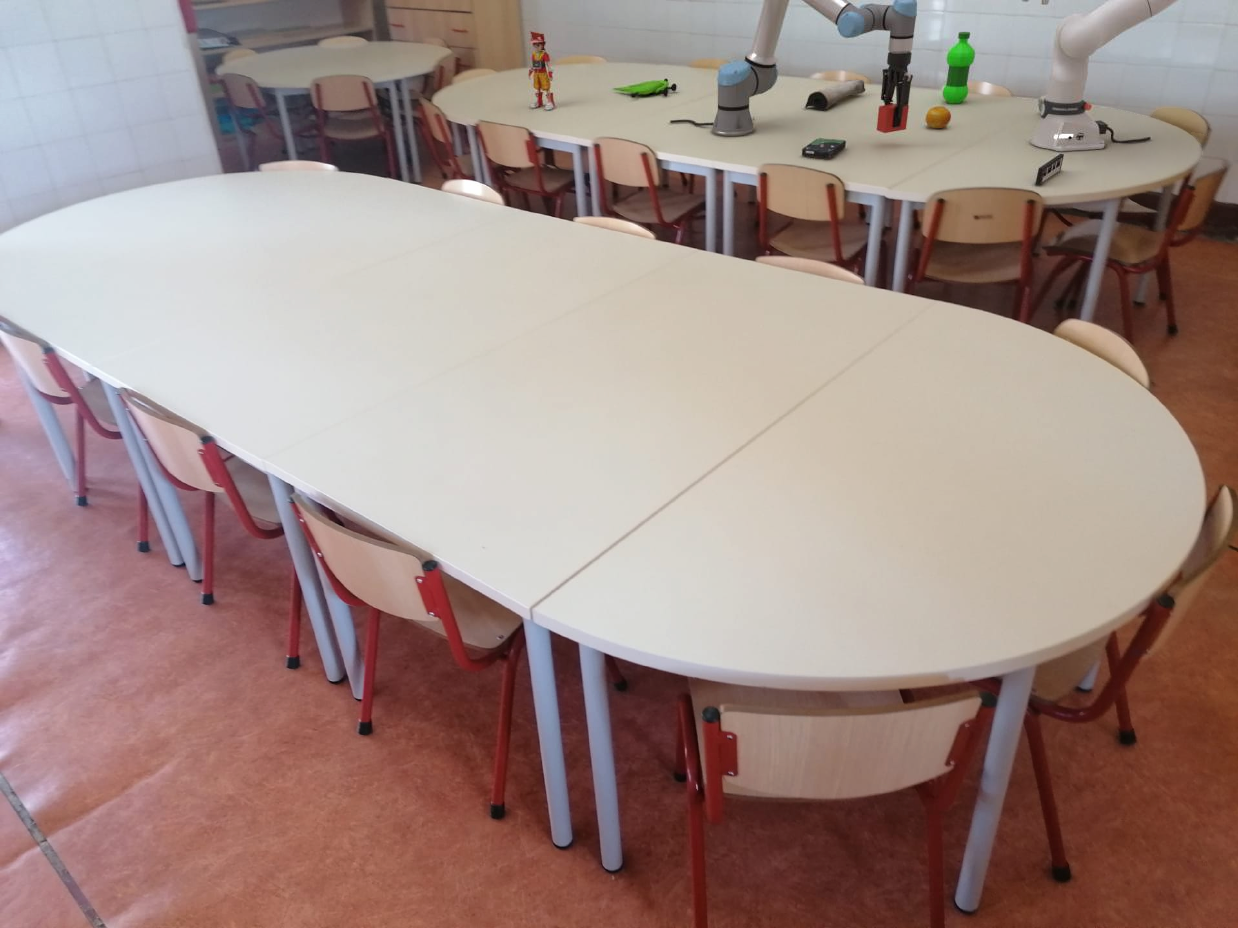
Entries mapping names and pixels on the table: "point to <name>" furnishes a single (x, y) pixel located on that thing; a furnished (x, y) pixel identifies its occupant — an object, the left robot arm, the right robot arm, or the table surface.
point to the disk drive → (823, 148)
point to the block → (890, 118)
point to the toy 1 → (541, 71)
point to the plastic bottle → (958, 69)
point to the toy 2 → (648, 88)
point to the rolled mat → (834, 94)
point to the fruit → (938, 117)
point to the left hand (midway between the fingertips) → (891, 125)
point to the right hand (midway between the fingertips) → (1034, 3)
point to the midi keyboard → (1049, 169)
